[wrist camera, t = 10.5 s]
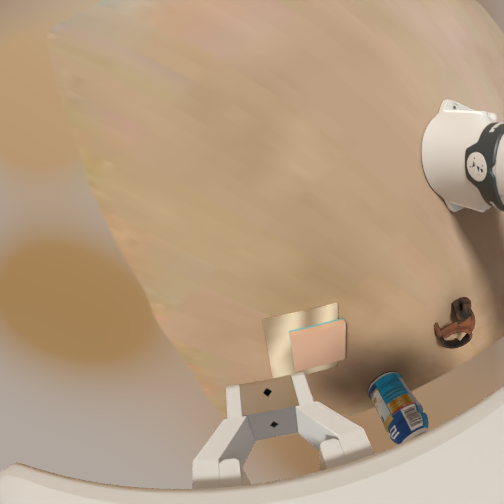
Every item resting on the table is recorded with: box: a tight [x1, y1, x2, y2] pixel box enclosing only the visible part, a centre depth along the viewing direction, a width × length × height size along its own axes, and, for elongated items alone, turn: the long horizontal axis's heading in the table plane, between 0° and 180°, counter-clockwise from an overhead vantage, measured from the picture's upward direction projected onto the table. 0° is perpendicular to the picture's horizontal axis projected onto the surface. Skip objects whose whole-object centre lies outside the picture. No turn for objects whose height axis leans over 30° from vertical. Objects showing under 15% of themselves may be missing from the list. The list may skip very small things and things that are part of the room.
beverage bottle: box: [368, 372, 429, 444], centre depth 44 cm, size 8×8×20 cm
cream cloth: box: [262, 303, 338, 378], centre depth 46 cm, size 12×14×1 cm
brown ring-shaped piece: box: [434, 297, 475, 348], centre depth 47 cm, size 12×10×8 cm
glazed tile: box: [289, 318, 346, 372], centre depth 45 cm, size 2×8×9 cm
